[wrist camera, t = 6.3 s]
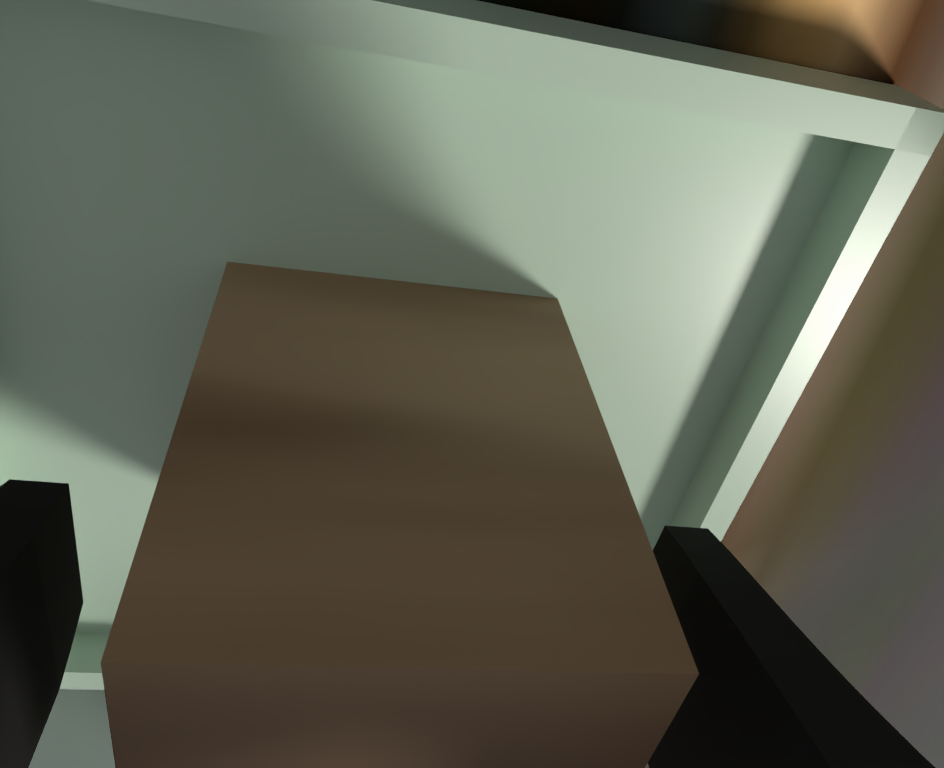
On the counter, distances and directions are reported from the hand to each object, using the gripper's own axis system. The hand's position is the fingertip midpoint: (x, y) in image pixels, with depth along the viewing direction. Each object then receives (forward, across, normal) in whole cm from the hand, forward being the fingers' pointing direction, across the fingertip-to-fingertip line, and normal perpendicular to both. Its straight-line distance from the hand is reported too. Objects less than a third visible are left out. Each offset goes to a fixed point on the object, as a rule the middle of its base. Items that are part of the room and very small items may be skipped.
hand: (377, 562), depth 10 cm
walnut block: (+3, 0, 0) cm, 3 cm away
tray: (+3, 0, 0) cm, 3 cm away
